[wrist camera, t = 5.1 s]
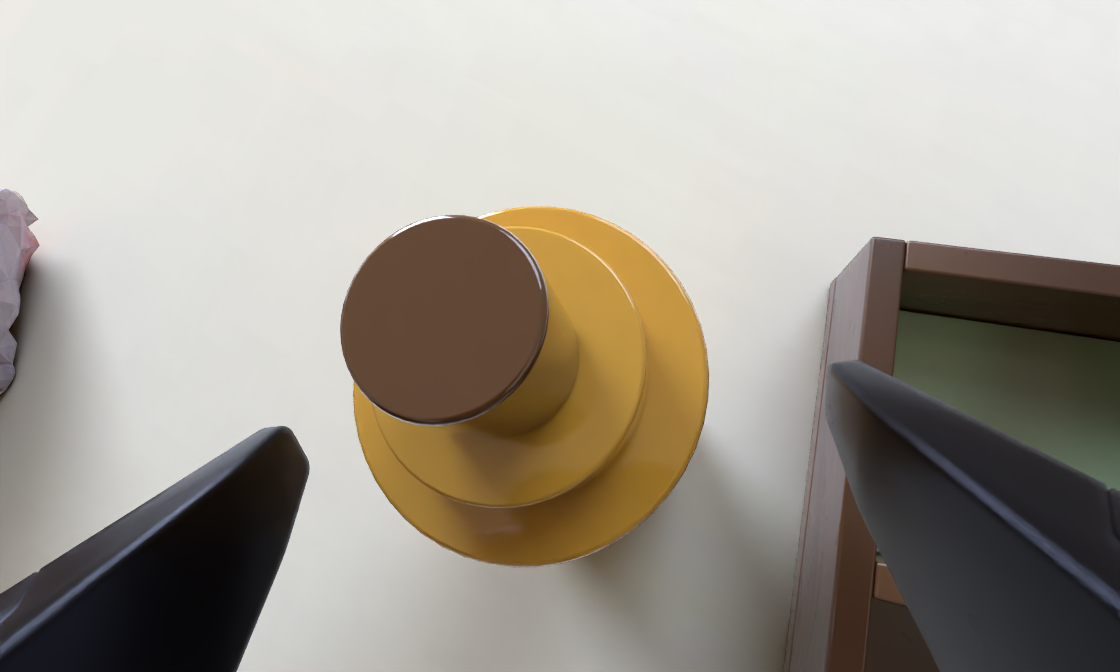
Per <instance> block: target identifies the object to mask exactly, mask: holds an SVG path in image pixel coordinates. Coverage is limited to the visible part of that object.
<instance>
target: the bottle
mask: <svg viewBox="0 0 1120 672" xmlns="http://www.w3.org/2000/svg"><path fill="white" fill-rule="evenodd" d="M340 333H341V345H342V350H343V355H344V358H345V361H346V364H347V367H348V370H349V372H350V374H351V376H352V378H353V380H354V391H353V397H354V413H355V421H356V426H357V431H358V437H359V441H360V444H361V447H362V450H363V453H364V456H365V459H366V462H367V464H368V466H369V468H370V470H371V472H372V474H373V476H374V478H375V480H376V482H377V484H378V485H379V487H380V488H381V490H382V491H383V493H384V494H385V496H386V497H387V499H388V500H389V502H390V503H391V504H392V505H393V506H394V507H395V509H396V510H397V511H398V512H399V513H400V514H401V515H402V517H403V518H404V519H405V520H406V521H408V522H409V523H410V524H411V525H412V526H413V527H415V528H416V529H417V530H418V531H419V532H420V533H422V534H423V535H424V536H426V537H428V538H429V539H431V540H432V541H434V542H435V543H437V544H438V545H440V546H442V547H443V548H446V549H448V550H450V551H452V552H454V553H457V554H459V555H461V556H463V557H466V558H469V559H473V560H476V561H480V562H483V563H487V564H493V565H500V566H507V567H541V566H548V565H554V564H561V563H565V562H568V561H572V560H575V559H578V558H582V557H585V556H588V555H590V554H592V553H594V552H597V551H599V550H601V549H603V548H605V547H607V546H610V545H611V544H613V543H615V542H616V541H618V540H619V539H621V538H622V537H624V536H625V535H627V534H628V533H630V532H632V531H633V530H634V529H635V528H637V527H638V526H639V525H640V524H641V523H642V522H643V521H645V520H646V519H647V518H648V517H649V516H650V515H652V514H653V513H654V511H655V510H656V509H657V508H658V507H659V506H660V505H661V503H662V502H663V501H664V500H665V499H666V498H667V497H668V496H669V494H670V493H671V492H672V490H673V489H674V487H675V486H676V484H677V482H678V481H679V479H680V478H681V476H682V475H683V473H684V472H685V470H686V468H687V466H688V464H689V461H690V459H691V457H692V455H693V453H694V451H695V449H696V446H697V443H698V440H699V437H700V434H701V431H702V427H703V424H704V419H705V413H706V408H707V402H708V388H709V368H708V358H707V348H706V344H705V340H704V336H703V332H702V328H701V324H700V322H699V319H698V317H697V314H696V311H695V309H694V306H693V304H692V302H691V300H690V298H689V296H688V295H687V293H686V291H685V289H684V287H683V286H682V284H681V282H680V281H679V280H678V278H677V277H676V276H675V274H674V273H673V272H672V270H671V269H670V268H669V266H668V265H667V264H666V263H665V262H664V261H663V260H662V259H661V258H660V257H659V256H658V255H657V254H656V253H655V252H654V251H653V250H652V249H651V248H650V247H649V246H647V245H646V244H645V243H643V242H642V241H641V240H640V239H638V238H637V237H636V236H634V235H633V234H631V233H629V232H628V231H626V230H624V229H622V228H621V227H619V226H617V225H615V224H614V223H611V222H609V221H606V220H604V219H601V218H599V217H596V216H594V215H590V214H587V213H583V212H579V211H575V210H572V209H564V208H557V207H520V208H512V209H505V210H501V211H497V212H493V213H489V214H485V215H483V216H480V217H471V216H464V215H444V216H436V217H432V218H427V219H423V220H421V221H418V222H415V223H412V224H410V225H408V226H406V227H404V228H402V229H400V230H398V231H397V232H395V233H394V234H392V235H391V236H389V237H388V238H387V239H386V240H384V241H383V242H382V243H381V244H380V245H378V246H377V247H376V248H375V249H374V250H373V252H372V253H371V254H370V255H369V256H368V257H367V258H366V260H365V261H364V262H363V264H362V265H361V266H360V268H359V269H358V271H357V273H356V275H355V276H354V278H353V280H352V282H351V284H350V287H349V289H348V291H347V294H346V298H345V301H344V304H343V310H342V315H341V327H340Z"/></svg>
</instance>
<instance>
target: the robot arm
mask: <svg viewBox="0 0 1120 672" xmlns="http://www.w3.org/2000/svg"><path fill="white" fill-rule="evenodd" d="M824 410H825V416H826V420H827V423H828V426H829V429H830V432H831V434H832V437H833V440H834V443H835V446H836V448H837V451H838V454H839V457H840V460H841V462H842V465H843V468H844V471H845V474H846V477H847V479H848V482H849V485H850V488H851V491H852V493H853V496H854V499H855V501H856V504H857V506H858V509H859V511H860V513H861V515H862V517H863V519H864V522H865V524H866V526H867V528H868V530H869V532H870V534H871V536H872V538H873V540H874V542H875V544H876V546H877V548H878V550H879V552H880V554H881V556H882V558H883V560H884V562H885V564H886V566H887V568H888V569H889V571H890V573H891V575H892V577H893V579H894V581H895V583H896V585H897V587H898V589H899V591H900V593H901V595H902V597H903V599H904V601H905V603H906V605H907V607H908V609H909V611H910V613H911V615H912V617H913V619H914V621H915V623H916V625H917V627H918V629H919V631H920V633H921V635H922V637H923V639H924V641H925V643H926V645H927V647H928V649H929V651H930V653H931V655H932V657H933V659H934V661H935V663H936V665H937V667H938V669H939V671H940V672H1120V491H1119V490H1117V489H1115V488H1110V489H1108V487H1107V485H1106V484H1105V483H1103V482H1101V481H1099V480H1097V479H1095V478H1093V477H1091V476H1089V475H1087V474H1085V473H1083V472H1081V471H1079V470H1077V469H1075V468H1073V467H1071V466H1069V465H1067V464H1065V463H1063V462H1061V461H1059V460H1057V459H1055V458H1053V457H1051V456H1049V455H1047V454H1045V453H1043V452H1041V451H1039V450H1037V449H1035V448H1033V447H1031V446H1029V445H1027V444H1025V443H1023V442H1021V441H1019V440H1017V439H1015V438H1013V437H1011V436H1009V435H1007V434H1005V433H1003V432H1001V431H999V430H997V429H995V428H993V427H991V426H989V425H987V424H985V423H983V422H981V421H979V420H977V419H975V418H973V417H971V416H969V415H967V414H965V413H963V412H961V411H959V410H957V409H956V408H954V407H952V406H950V405H948V404H946V403H944V402H942V401H940V400H938V399H936V398H934V397H932V396H930V395H928V394H926V393H924V392H922V391H920V390H918V389H916V388H914V387H912V386H910V385H908V384H906V383H904V382H902V381H900V380H898V379H896V378H894V377H892V376H890V375H888V374H886V373H884V372H882V371H880V370H878V369H876V368H874V367H872V366H870V365H868V364H866V363H864V362H862V361H859V360H847V361H839V362H832V363H831V364H829V365H828V368H827V371H826V385H825V401H824ZM308 475H309V461H308V459H307V457H306V455H305V453H304V451H303V450H302V448H301V446H300V444H299V442H298V441H297V439H296V437H295V435H294V434H293V432H292V431H291V430H290V429H289V428H288V427H285V426H278V427H269V428H264V429H261V430H259V431H258V432H256V433H255V434H253V435H251V436H250V437H248V438H247V439H245V440H244V441H242V442H240V443H239V444H237V445H236V446H234V447H232V448H231V449H229V450H228V451H226V452H225V453H223V454H221V455H220V456H218V457H217V458H215V459H213V460H212V461H210V462H209V463H207V464H206V465H204V466H202V467H201V468H199V469H198V470H196V471H194V472H193V473H191V474H190V475H188V476H187V477H185V478H183V479H182V480H180V481H179V482H177V483H175V484H174V485H172V486H171V487H169V488H168V489H166V490H164V491H163V492H161V493H160V494H158V495H156V496H155V497H153V498H152V499H150V500H149V501H147V502H145V503H144V504H142V505H141V506H139V507H137V508H136V509H134V510H133V511H131V512H130V513H128V514H126V515H125V516H123V517H122V518H120V519H118V520H117V521H115V522H114V523H112V524H111V525H109V526H107V527H106V528H104V529H103V530H101V531H100V532H98V533H96V534H95V535H93V536H92V537H90V538H88V539H87V540H85V541H84V542H82V543H81V544H79V545H77V546H76V547H74V548H73V549H71V550H69V551H68V552H66V553H65V554H63V555H62V556H60V557H58V558H57V559H55V560H54V561H52V562H50V563H49V564H47V565H46V566H44V567H43V568H41V569H40V571H39V572H35V573H33V574H31V575H30V576H28V577H27V578H25V579H23V580H22V581H20V582H19V583H17V584H15V585H14V586H12V587H11V588H9V589H8V590H6V591H4V592H3V593H1V594H0V672H237V669H238V667H239V664H240V662H241V659H242V657H243V654H244V652H245V650H246V647H247V645H248V642H249V640H250V637H251V635H252V633H253V630H254V628H255V625H256V623H257V620H258V618H259V616H260V613H261V611H262V608H263V606H264V603H265V601H266V598H267V596H268V594H269V591H270V589H271V586H272V584H273V581H274V579H275V577H276V574H277V572H278V569H279V567H280V564H281V562H282V559H283V556H284V554H285V551H286V548H287V545H288V542H289V539H290V535H291V532H292V529H293V525H294V522H295V519H296V515H297V512H298V509H299V505H300V502H301V499H302V495H303V492H304V489H305V485H306V482H307V479H308Z"/></svg>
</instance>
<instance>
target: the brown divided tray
mask: <svg viewBox="0 0 1120 672" xmlns="http://www.w3.org/2000/svg"><path fill="white" fill-rule="evenodd" d="M847 360H859V361H862V362H864V363H866V364H868V365H870V366H872V367H874V368H876V369H878V370H880V371H882V372H884V373H886V374H888V375H890V376H892V377H894V378H896V379H898V380H900V381H902V382H904V383H906V384H908V385H910V386H912V387H914V388H916V389H918V390H920V391H922V392H924V393H926V394H928V395H930V396H932V397H934V398H936V399H938V400H940V401H942V402H944V403H946V404H948V405H950V406H952V407H954V408H956V409H957V410H959V411H961V412H963V413H965V414H967V415H969V416H971V417H973V418H975V419H977V420H979V421H981V422H983V423H985V424H987V425H989V426H991V427H993V428H995V429H997V430H999V431H1001V432H1003V433H1005V434H1007V435H1009V436H1011V437H1013V438H1015V439H1017V440H1019V441H1021V442H1023V443H1025V444H1027V445H1029V446H1031V447H1033V448H1035V449H1037V450H1039V451H1041V452H1043V453H1045V454H1047V455H1049V456H1051V457H1053V458H1055V459H1057V460H1059V461H1061V462H1063V463H1065V464H1067V465H1069V466H1071V467H1073V468H1075V469H1077V470H1079V471H1081V472H1083V473H1085V474H1087V475H1089V476H1091V477H1093V478H1095V479H1097V480H1099V481H1101V482H1103V483H1105V484H1106V485H1107V487H1108V489H1110V488H1115V489H1117V490H1119V491H1120V265H1111V264H1103V263H1094V262H1086V261H1077V260H1069V259H1060V258H1052V257H1043V256H1035V255H1026V254H1018V253H1009V252H1001V251H992V250H984V249H975V248H967V247H958V246H950V245H941V244H933V243H925V242H916V241H907V242H906V243H905V241H904V240H898V239H889V238H881V237H873V238H871V239H870V240H869V242H868V243H867V244H866V245H865V246H864V247H863V248H862V249H861V251H860V252H859V253H858V254H857V255H856V256H855V257H854V258H853V260H852V261H851V262H850V263H849V264H848V265H847V266H846V267H845V269H844V270H843V271H842V272H841V273H840V274H839V275H838V277H836V278H835V279H834V280H833V281H832V283H831V285H830V293H829V302H828V310H827V318H826V326H825V334H824V343H823V351H822V359H821V367H820V375H819V384H818V392H817V400H816V408H815V416H814V425H813V433H812V441H811V449H810V457H809V465H808V474H807V482H806V490H805V498H804V506H803V515H802V523H801V531H800V539H799V547H798V556H797V564H796V572H795V580H794V588H793V597H792V605H791V613H790V621H789V629H788V638H787V646H786V654H785V662H784V670H783V672H940V671H939V669H938V667H937V665H936V663H935V661H934V659H933V657H932V655H931V653H930V651H929V649H928V647H927V645H926V643H925V641H924V639H923V637H922V635H921V633H920V631H919V629H918V627H917V625H916V623H915V621H914V619H913V617H912V615H911V613H910V611H909V609H908V607H907V605H906V603H905V601H904V599H903V597H902V595H901V593H900V591H899V589H898V587H897V585H896V583H895V581H894V579H893V577H892V575H891V573H890V571H889V569H888V568H887V566H886V564H885V562H884V560H883V558H882V556H881V554H880V552H879V550H878V548H877V546H876V544H875V542H874V540H873V538H872V536H871V534H870V532H869V530H868V528H867V526H866V524H865V522H864V519H863V517H862V515H861V513H860V511H859V509H858V506H857V504H856V501H855V499H854V496H853V493H852V491H851V488H850V485H849V482H848V479H847V477H846V474H845V471H844V468H843V465H842V462H841V460H840V457H839V454H838V451H837V448H836V446H835V443H834V440H833V437H832V434H831V432H830V429H829V426H828V423H827V420H826V416H825V410H824V401H825V385H826V371H827V368H828V365H829V364H831V363H832V362H839V361H847Z"/></svg>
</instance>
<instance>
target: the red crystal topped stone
mask: <svg viewBox="0 0 1120 672" xmlns="http://www.w3.org/2000/svg"><path fill="white" fill-rule="evenodd" d="M36 220H38V218H37V217H36V216H35V215H34V214H33V213H32V212H31V211H30V210H29V209H28V207H27V204H26V203H25V201H24V199H23V198H22V196H20V195H19V194H18V193H17V192H16V191H10V190H7V189H4V190H2V189H0V394H1V393H3V392H4V391H5V390H7V387H8V385H9V384H10V383H11V381H12V380H13V378H14V375H15V372H16V371H15V369H14V366H13V360H14V356H15V351H16V347H17V342H16V341H15V339H14V338H13V336H12V335H11V333H10V332H9V328H10V327H11V325H12V324H13V322H14V321H15V319H16V317H17V316H18V314H19V308H20V301H21V299H20V293H19V288H20V285H21V282H22V280H23V276H24V272H25V268H26V266H27V264H28V262H29V260H30V258H31V256H32V254H33V253H34V252H35V250H36V249H37V248H38V247H39V243H38V242H37V240H36V238H35V236H34V234H33V233H32V232H30V230H29V229H28V226H29V225H31V224H32V223H33V222H35V221H36Z"/></svg>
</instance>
